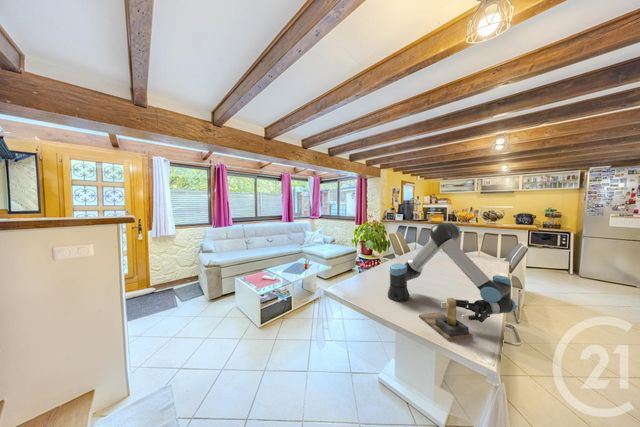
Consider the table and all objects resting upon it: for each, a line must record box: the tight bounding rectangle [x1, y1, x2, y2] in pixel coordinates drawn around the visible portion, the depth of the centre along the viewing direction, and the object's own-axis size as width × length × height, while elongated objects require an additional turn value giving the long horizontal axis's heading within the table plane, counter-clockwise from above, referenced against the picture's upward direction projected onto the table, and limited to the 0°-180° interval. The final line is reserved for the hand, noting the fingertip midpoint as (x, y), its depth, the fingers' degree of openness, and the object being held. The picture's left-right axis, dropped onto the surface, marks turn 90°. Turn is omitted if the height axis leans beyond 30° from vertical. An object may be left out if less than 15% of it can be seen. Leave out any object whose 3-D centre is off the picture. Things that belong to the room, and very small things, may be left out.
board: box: [418, 311, 473, 341], centre depth 114 cm, size 22×14×5 cm, turn 10°
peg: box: [446, 297, 457, 326], centre depth 109 cm, size 4×4×16 cm
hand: (450, 311), depth 108 cm, fingers open, 13 cm apart
